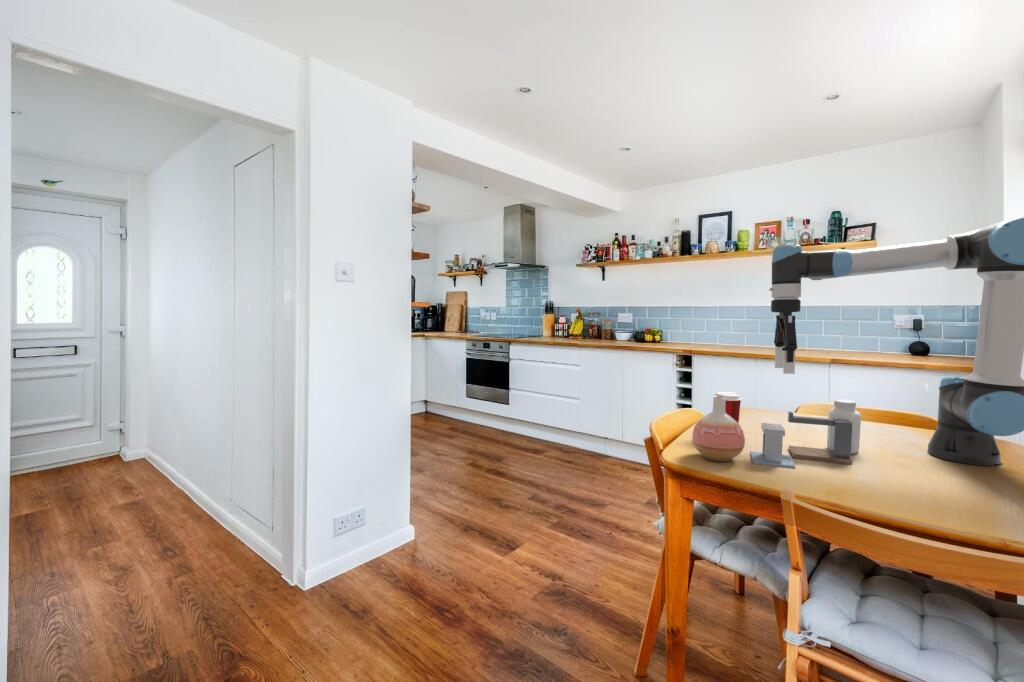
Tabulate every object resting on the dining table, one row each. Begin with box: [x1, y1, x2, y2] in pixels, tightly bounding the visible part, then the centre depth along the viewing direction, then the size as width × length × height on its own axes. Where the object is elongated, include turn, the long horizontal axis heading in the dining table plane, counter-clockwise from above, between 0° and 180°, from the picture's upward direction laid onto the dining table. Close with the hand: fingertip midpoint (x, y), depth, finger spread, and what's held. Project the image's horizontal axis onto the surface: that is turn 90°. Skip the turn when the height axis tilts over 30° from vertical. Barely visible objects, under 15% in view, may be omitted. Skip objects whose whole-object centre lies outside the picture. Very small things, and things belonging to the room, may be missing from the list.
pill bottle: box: [826, 398, 862, 455], centre depth 142 cm, size 8×8×15 cm
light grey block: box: [760, 422, 786, 463], centre depth 133 cm, size 5×7×9 cm
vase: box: [691, 395, 746, 463], centre depth 134 cm, size 14×14×18 cm
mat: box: [749, 450, 796, 469], centre depth 133 cm, size 10×10×1 cm
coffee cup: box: [713, 391, 743, 425], centre depth 153 cm, size 8×8×15 cm
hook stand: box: [787, 411, 853, 465], centre depth 136 cm, size 15×9×12 cm, turn 68°
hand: (784, 370), depth 141 cm, fingers open, 13 cm apart
